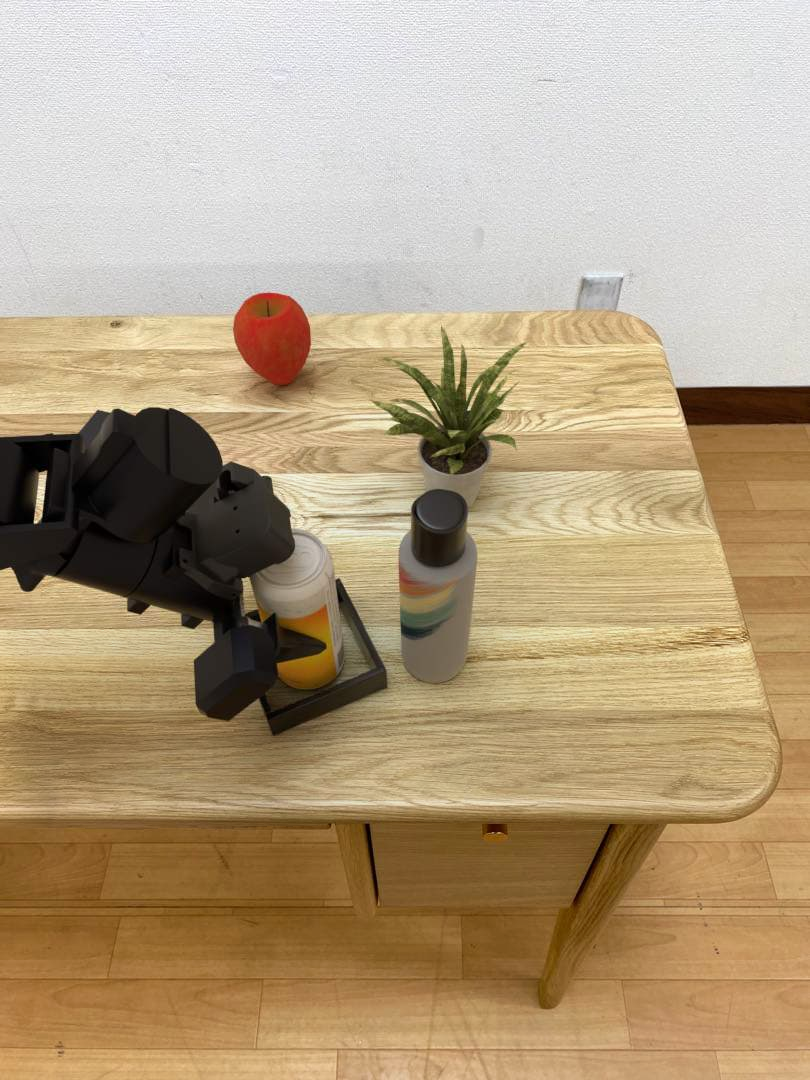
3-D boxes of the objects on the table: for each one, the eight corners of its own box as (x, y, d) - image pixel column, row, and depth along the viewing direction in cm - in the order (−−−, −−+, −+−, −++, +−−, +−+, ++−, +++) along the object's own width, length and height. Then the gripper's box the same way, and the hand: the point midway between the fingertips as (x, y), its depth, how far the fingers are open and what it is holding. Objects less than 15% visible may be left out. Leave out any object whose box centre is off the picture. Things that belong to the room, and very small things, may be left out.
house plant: (455, 416, 85) (462, 287, 72) (553, 481, 79) (580, 353, 66) (359, 484, 79) (348, 356, 66) (458, 560, 73) (467, 436, 60)
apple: (228, 381, 89) (208, 301, 80) (284, 347, 93) (270, 267, 84) (277, 416, 85) (261, 336, 77) (332, 379, 89) (324, 298, 80)
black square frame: (272, 736, 62) (267, 720, 60) (235, 637, 68) (228, 619, 65) (387, 687, 65) (386, 670, 62) (342, 596, 70) (339, 577, 68)
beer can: (279, 631, 68) (252, 522, 56) (347, 632, 68) (335, 524, 56) (269, 693, 64) (239, 591, 53) (342, 695, 64) (327, 593, 52)
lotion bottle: (447, 617, 69) (457, 463, 53) (478, 668, 66) (498, 520, 50) (390, 642, 67) (382, 491, 52) (419, 695, 64) (420, 551, 48)
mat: (124, 479, 80) (123, 475, 79) (58, 462, 81) (56, 459, 81) (162, 427, 84) (161, 424, 84) (98, 412, 86) (97, 409, 85)
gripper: (211, 609, 41) (412, 669, 51) (197, 384, 53) (364, 469, 63) (108, 703, 47) (308, 741, 57) (115, 480, 58) (281, 544, 68)
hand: (317, 614), depth 61 cm, fingers closed on beer can, 6 cm apart
